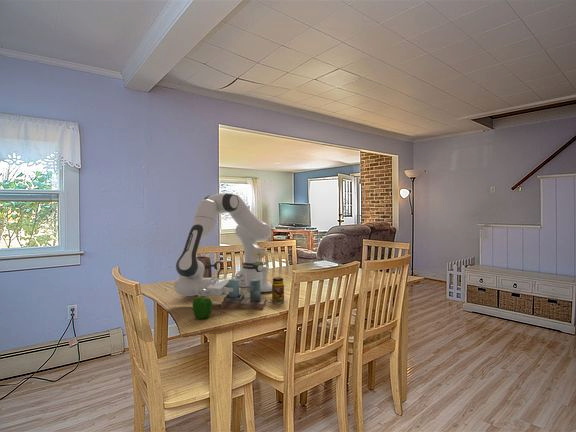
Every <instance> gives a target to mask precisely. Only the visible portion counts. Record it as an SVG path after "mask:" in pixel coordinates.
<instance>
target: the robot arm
mask: <svg viewBox="0 0 576 432" xmlns="http://www.w3.org/2000/svg"><path fill="white" fill-rule="evenodd" d="M224 213H229V215H230V216H231V218H232V219H233V220H234V222H235V223H236V224H237V225H236V227H235V235H236V237H237V238H238V239H239V240H240V242H241V245H242V247H243V252H244V253H243V255H244V262H242V263H241V266H242V268H240V270H238V271H237V272H236V273H235V275H234V279H239V287H241V288H250V280H252V279H259V280H261V281H262V279H263V274H262V270H261V268H260V267H264V265H263V264H264V262H263V258H262V259H261V258H260V259H257V258H256V259H255V258H253V256H252V253H253V251H254V250H255V249H257V248H260V249H261V248H262V247H260V246H259V245H258V243H257V241H264V240H265V241H266V240H268V239H270V237H271V235H272V227H271V226H270V224H268V223H266V222H264V221H262V219H259V217H257V216H256V215H255V214H254V213H253V212H252V211H251V209H250V208H249V207H248V205H247V204H246V202H245V201H244V200H243V198H242V197H241V196H240V195H239V194H238V193H237V192H227V193H226V192H222V193H215V194H210V195H207V196H205V197H204V199H201V201H199V203H198V206H197V208H196V211H195V213H194V214H195V215H194V218H193V222H192V226H191V228H190V230H189V234H188V235H187V238H186V242H185V244H184V248H183V251H182V252H181V254H180V256H179V258H178V259H177V261H176V264H175V269H176V272H177V273H178V274H179V276H178V277H177V278H176V279H175V281H174V290H175V293H177V294H178V295H180V296H187V297H192V296H194V295H199V296H200V295H201V296H202V297H212V296H213V297H214V296H215V297H216V296H217V297H219V296H221V295H223V294H224V293H229V292H233V291H234V288H233V287H230V288H229V280H230V279H231V278H230V279H229V278H220V277H219V278H217V276H212V277H211V278H203V275H204V271H205V266H204V264H203V263H202V262H201V261H199V260H197V257H198V256H197V254H198V251H199V248H200V245H201V241H202V239H203V238H206V237H208V236H210V235H211V234H213V231H214V229H215V226H216V221H217V216H218V214H224ZM255 262H261V263H260V264H259V265H253V264H254V263H255ZM261 264H262V265H263V266H262V265H261Z"/></svg>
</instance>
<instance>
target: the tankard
mask: <svg viewBox="0 0 576 432" xmlns="http://www.w3.org/2000/svg"><path fill="white" fill-rule="evenodd" d="M196 257H197V260H199V261H201V262H202V263H203V264H204V266H205V271H204V275H203V278H211V277H213V276H212V275H213V274H212V267H213V268H214V269H215V270H216V271H217V270H218V264H220V268H219V270H218V272H217V274H216V275H217V276H216V279H217V278H220V273H221V271H222V268H223V262H222V261H220V260H218V261H216V262H214V264H212V261H211V257H209V256H208V257H207V256H196ZM198 296H199V295H194V296H191V297H195V298H198Z"/></svg>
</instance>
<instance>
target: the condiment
mask: <svg viewBox="0 0 576 432" xmlns="http://www.w3.org/2000/svg"><path fill="white" fill-rule="evenodd" d="M271 284H272V291H271V293H272V294H271V296H272V297H271V299H268V300H266V303H272V304H277V305H279V304H283V303H285V302H286V301H288V300H287V299H285V283H284V278H283V277H282V276H281V277H279V276H278V277H276V276H275V277H273V278H272V283H271Z"/></svg>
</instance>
